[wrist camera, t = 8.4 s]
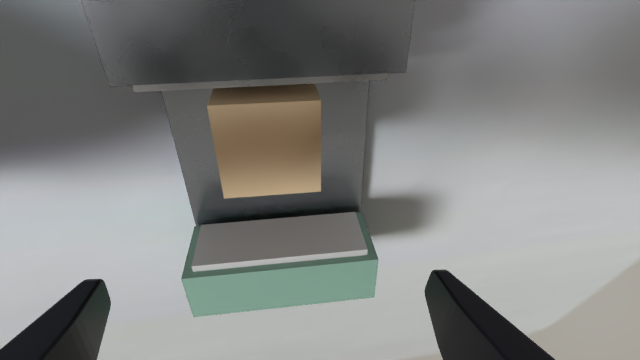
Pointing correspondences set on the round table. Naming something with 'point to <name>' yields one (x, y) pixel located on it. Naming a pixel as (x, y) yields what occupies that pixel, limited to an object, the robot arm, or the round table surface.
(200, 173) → the grey angle bracket
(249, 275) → the block
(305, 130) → the tan wooden block
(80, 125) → the round table surface
